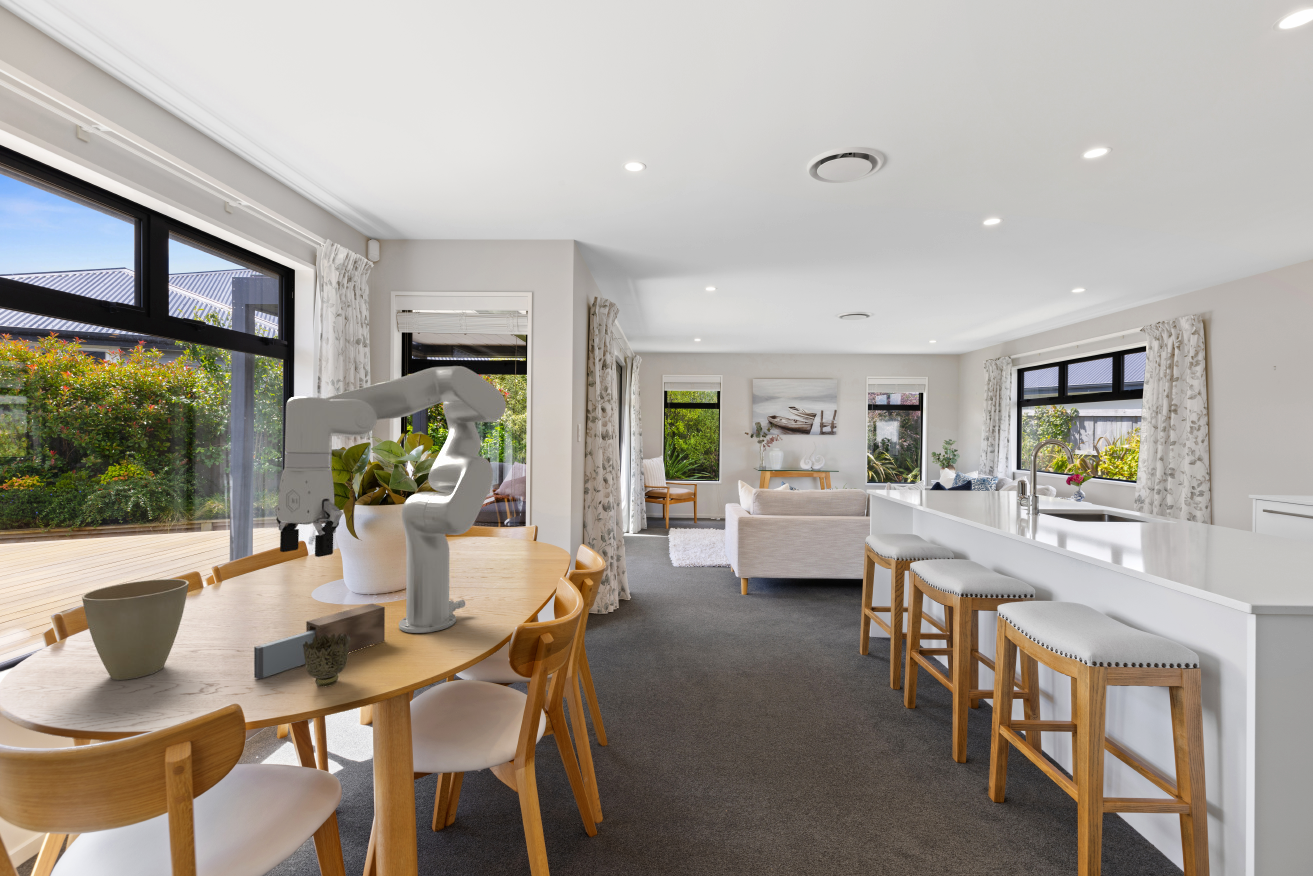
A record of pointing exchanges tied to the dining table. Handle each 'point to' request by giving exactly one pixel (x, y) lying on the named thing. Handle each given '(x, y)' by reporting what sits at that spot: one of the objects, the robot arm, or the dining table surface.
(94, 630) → the plant pot
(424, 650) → the dining table surface
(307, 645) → the cup
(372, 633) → the dark brown rectangular beam
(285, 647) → the gray rectangular panel
